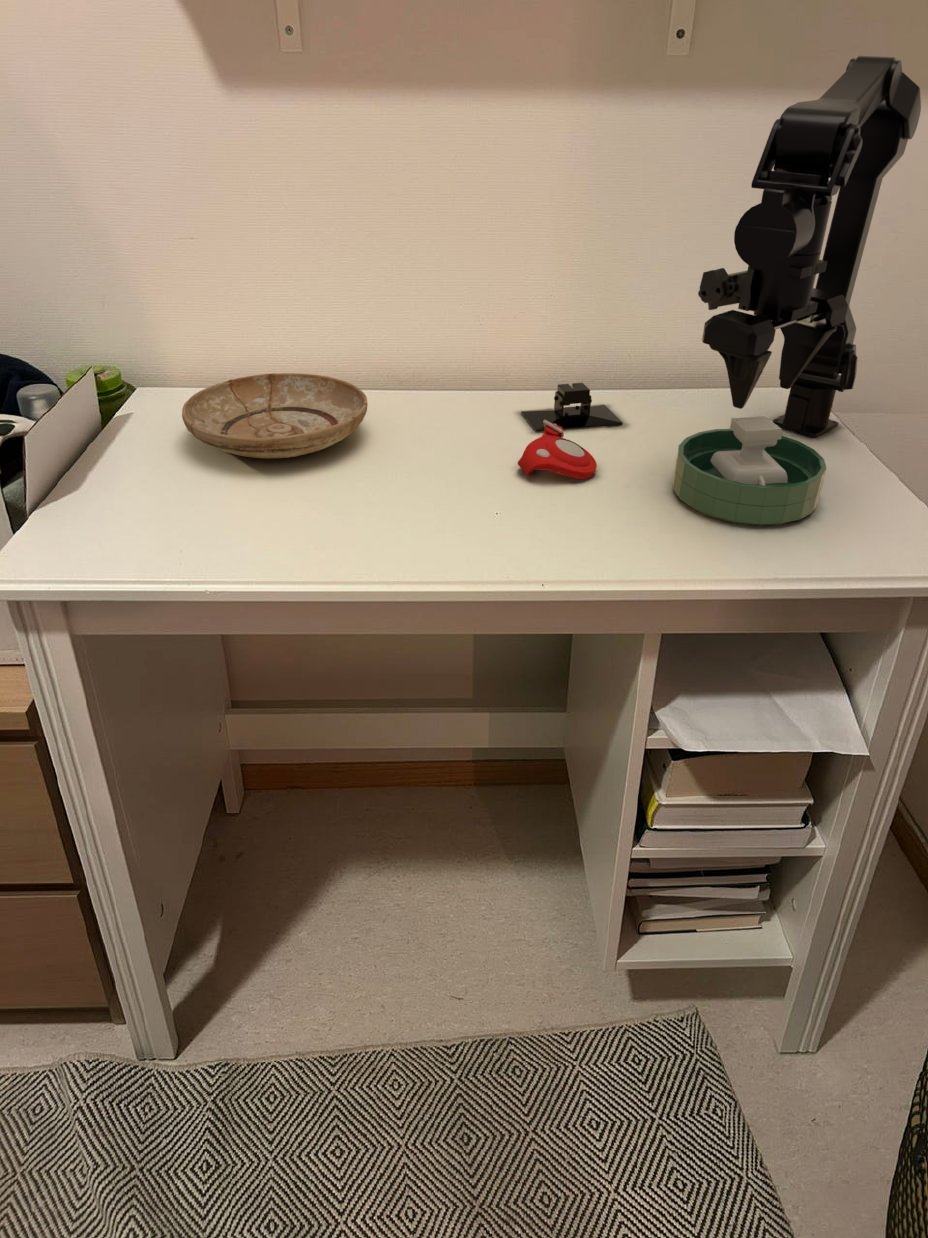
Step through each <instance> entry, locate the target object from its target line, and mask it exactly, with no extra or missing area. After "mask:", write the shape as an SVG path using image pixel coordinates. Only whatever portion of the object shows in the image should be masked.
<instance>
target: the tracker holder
mask: <svg viewBox="0 0 928 1238" xmlns="http://www.w3.org/2000/svg"><path fill="white" fill-rule="evenodd" d="M543 423H544V427H545V428H544V431H545V432H543V434H542V435H541V436H539V437H537V438H535V439H534V440H531V442H529V443H528V444H527V445H526V447H525V449H524V450H523V453H522V455H521V457H520V459H518V461H517V465H518V466H519V468H520V469H521V470H522V471H523V472H524V473H525V474H526V475H527V476H529V475H531V474H533V472H535V470H536V471H551V472H553V473H555V474H558V475H561V476H564V477H565V476H566V477H569V478H573V479H579V480H586V479H590V478H592V477H593V476H594V474H595V472H596V471H597V467H598V464H597V461H596V459H595V457H594V456H593V455H592V454H591V453H590V452H589V451H588V450H587V449H585V448H584V447H583V446H581V445H579V443H576V442H575V441H572V440H570V439H568V438H564V436H565V434H564V433H565V432H564V430H562V429H563V428H562V427H560V426H558V425H557V424H553V423H550V422H548V421H546V420H544V421H543Z"/></svg>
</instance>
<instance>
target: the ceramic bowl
mask: <svg viewBox="0 0 928 1238" xmlns="http://www.w3.org/2000/svg"><path fill="white" fill-rule="evenodd" d="M368 407H369V406H368V397H367V395H366V394H365V392H363V390H362V389H360V388H359V387H357V385H354V384H353V383H350V382H348V381H346V380H344V379H343V380H342V379H338V378H335V377H331V376H327V375H320V374H312V373H299V372H298V373H297V372H296V373H295V372H290V373H289V372H286V373H285V372H284V373H283V372H281V373H280V372H279V373H273V372H272V373H264V374H263V373H262V374H255V375H254V374H253V375H248V376H243V377H242V376H241V377H238V378H233V379H229V380H226V381H222V382H219V383H216V384H213V385H211V386H208V387H206V388H204V389H202V390H199V391H198V392H196V393H194V394H193V395H192V396H191V397H189V398H188V399H187V400H186V401H185V402H184V404H183V406H182V409H181V418H182V421H183V424H184V426H185V428H186V430H187V431H188V432H189V433H190V434H191V436H193V437H194V438H195V439H197V440H198V441H200V442H202V443H203V444H205V445H207V446H209V447H211V448H214V449H216V450H218V451H221V452H224V453H227V454H232V455H236V456H241V457H246V458H253V459H254V458H256V459H286V458H287V459H288V458H295V457H299V456H304V455H308V454H313V453H316V452H319V451H322V450H324V449H327V448H329V447H331V446H333V445H335V444H337V443H339V442H340V441H343V440H344V439H345V438H347V437H348V436H350V435H351V434H352V433H353V432H355V431H356V429H358V428H359V427H360V425H361V424H362V422H363V421H364V419H365V416H366V414H367V412H368Z"/></svg>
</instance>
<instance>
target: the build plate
mask: <svg viewBox="0 0 928 1238" xmlns="http://www.w3.org/2000/svg"><path fill="white" fill-rule="evenodd" d="M556 389H557V390H555V391H554V397H553V400H554V405H553V408H543V409H533V410H522V411H520V415H521V416H522V417H523V418H524V420H525V421H526V423H528V425H529V426H530V427H531V429H532V430H533V431H534V432H535V433H544V432H545V431H544V428H545V427H544V423H543V421H544V420H546V421H548V422H550V423H553V424H557V425H558V426H560V427H562V428H563V429H562V430H563V431H570V430H571V431H572V430H584V429H593V428H616V427H621V426H623V423H624V422H623V421H622V420H621V419H620V418H619V417H618V416H617V415H616V414H615V413H614V412H613V411H612V410H611V409H610V408H608V406H606V404H594V405H592V403H593V400H592V395H591V389H590V388H589V387H588V386H587V385H586V384H585V383H584V382H574V383H571V385H570V384H569V383H560V384H559V383H558V384H557V388H556ZM575 404H576V405H575ZM578 404H580V405H578ZM571 405H575V406H571Z"/></svg>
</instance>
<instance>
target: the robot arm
mask: <svg viewBox="0 0 928 1238" xmlns="http://www.w3.org/2000/svg"><path fill="white" fill-rule="evenodd" d="M921 99H922V98H921V87H920V86H919V85H918V84H917V83H916V82H914V81H913V80H912V79H911V78H910V77H909V76H908V75H907V74H906V73H904V71H903V63H902V60H900V59H896V57H895V56H878V55H877V56H876V55H858V56H857V57H856V58H855V57H854V58H853V57H852V58H851V59H850V60H849V62H848V64H847V66H846V69H845V71H844V73H843V74H841V75H840V77H839V78H838V79H837V80H836V81H835V82H834V83H833V84H832V85H831V86H830V87H829V88H828V89H827V90H826V91H825V92H824V93H823V94H822V95H821V96H820V97H819V98H817V99H814V100H805V101H798V102H796V103H794V104H791V105H790V106H788V107H786V109H785V110H784V111H783V112H782V113H781V114H780V117H779V118H777V119H776V120H775V121H774V123H773V125H772V127H771V129H770V132H769V135H768V137H767V139H766V143H765V145H764V148H763V151H762V154H761V157H760V159H759V161H758V164H757V167H756V170H755V172H754V176H753V177H752V180H751V185H750V187H751V189H756V190H763V191H762V195H761V202H759V203H758V204H755V205H753V206H751V207H750V208H749V209H748V210H747V211H745V212H744V213H743V215H742V216H741V217H740V219H739V221H738V222H737V224H736V226H735V229H734V233H733V234H734V236H733V243H734V247H735V251H736V253H737V255H738V257H739V258H740V259H741V260H742V262H743V263H745V264H746V265H747V270H743V271H737V272H732V273H728V272H727V270H726V269H725V267H720V268H717V269H710V270H707V271H703V272H702V277H701V281H700V284H699V290H698V291H697V292H698V293H697V295H698V297H699V298H700V301H702V303H704V304H707V308H708V311H714V310H717V309H718V308H720V307H727V306H732V305H736V304H737V305H738V307H737V309H738V310H735V309H731V310H728V311H723V312H721V313H718V314H714V315H712V316H711V317H710V318H709V319H708V320H706V321H705V322H704V325H703V332H702V338H701V341H702V343H703V344H705V345H708V346H709V348H710V349H711V350H713V351H715V352H718V354H719V355H720V356H721V357H722V359H723V361H724V364H725V367H726V372H727V377H728V384H729V390H730V395H731V402H732V406H733V407H734V408H737V409H739V410H741V409H743V408H745V407H746V404H747V403H748V401H749V399H750V397H751V395H752V393H753V391H754V389H755V387H756V385H757V383H758V381H759V379H760V377H761V375H762V373H763V371H764V370H765V367H766V365H767V363H768V361H769V360H770V358H771V356H772V353H773V352H772V351H771V350H769V349H770V347H771V346H772V345H773V343H774V341H775V337H776V330H779V329H780V331H781V334H782V335H783V345H782V349H781V355H780V366H779V373H778V380H779V387H780V388H782V389H785V390H789V393H788V397H787V401H786V407H785V410H784V414H783V415H780V416H778V417H775V418H774V419H772V422H773V423H774V424H776V425H777V426H778V427H780V428H785V429H787V430H790V431H793V432H796V433H799V434H802V435H805V436H808V437H811V438H816V437H818V436H820V435H822V434H824V433H826V432H828V431H831V430H832V429H835V428H837V427H838V426H839V422H838V421H837V420H833V419H830V416H831V413H832V408H833V405H834V400H835V395H836V392H837V391H838V392H839V393H843V392H845V391H846V390H847V391H849V390H853V389H854V385H855V381H856V377H857V373H858V371H857V370H858V359H859V357H858V356H857V345H856V344H855V343H854V341H855V338H856V337H855V336H856V333H857V326H856V323H855V320H854V316H853V313H852V310H851V307H850V304H851V300H852V296H853V292H854V289H855V285H856V281H857V277H858V275H859V274H858V273H859V270H860V265H861V261H862V258H863V254H864V250H865V248H866V243H867V239H868V235H869V231H870V228H871V224H872V220H873V216H874V212H875V209H876V205H877V202H878V197H879V195H880V194H879V193H880V189H881V186H882V183H883V179H884V177H885V176H886V175H887V174H888V173H889V172H890V171H891V169H892V168H893V167H894V166H895V165H896V164H897V163H898V161H899V160H900V159H901V158H902V157H903V156H904V153H905V151H906V148H907V144H908V141H909V140H912V139H913V138H914V136H915V133H916V131H917V127H918V125H919V121H920V118H921V111H922V100H921ZM836 195H837V198H836V201H835V206H834V210H833V213H832V218H831V222H830V227H829V230H828V233H827V239H826V243H825V247H824V250H823V245H824V240H825V236H826V232H827V228H828V222H829V218H830V213H831V208H832V204H833V196H836ZM822 250H823V255H822V259H821V254H822ZM817 275H818V276H817ZM816 277H817V280H816ZM815 281H816V283H815ZM739 310H741V311H739ZM744 311H745V312H744ZM748 312H753V314H751V313H748Z"/></svg>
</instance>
